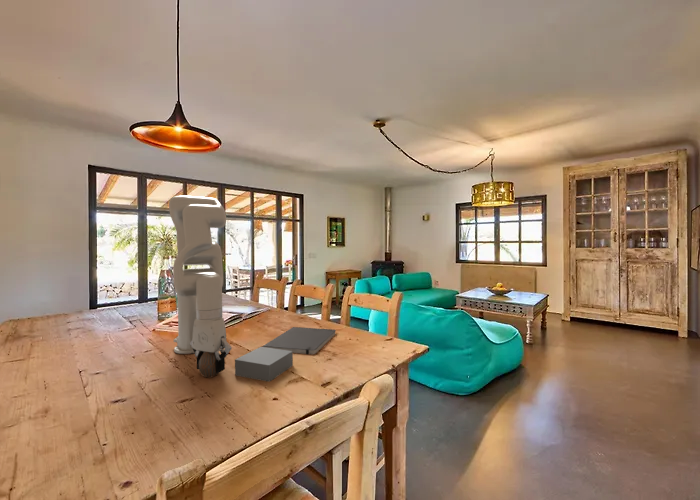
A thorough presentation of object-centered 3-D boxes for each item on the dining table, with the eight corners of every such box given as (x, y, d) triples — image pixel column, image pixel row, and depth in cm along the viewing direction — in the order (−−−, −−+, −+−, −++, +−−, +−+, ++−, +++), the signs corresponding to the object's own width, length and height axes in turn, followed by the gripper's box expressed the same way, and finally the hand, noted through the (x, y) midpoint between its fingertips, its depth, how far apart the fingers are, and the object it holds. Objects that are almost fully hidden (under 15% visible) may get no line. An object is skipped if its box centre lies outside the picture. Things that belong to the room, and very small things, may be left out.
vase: (213, 380, 96) (213, 352, 96) (193, 378, 97) (193, 350, 97) (227, 371, 103) (226, 344, 102) (208, 369, 104) (207, 343, 104)
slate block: (235, 375, 99) (234, 359, 99) (261, 360, 112) (261, 346, 111) (269, 381, 95) (269, 365, 94) (292, 365, 107) (292, 351, 107)
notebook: (293, 331, 150) (262, 351, 122) (293, 326, 150) (262, 345, 122) (336, 334, 144) (314, 356, 117) (336, 329, 144) (314, 349, 117)
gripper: (179, 314, 99) (180, 370, 100) (222, 319, 93) (223, 378, 93) (198, 309, 106) (199, 361, 107) (239, 313, 100) (240, 369, 100)
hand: (210, 369), depth 100 cm, fingers open, 7 cm apart
